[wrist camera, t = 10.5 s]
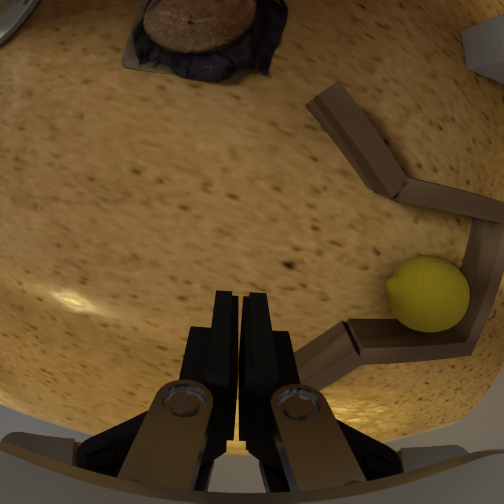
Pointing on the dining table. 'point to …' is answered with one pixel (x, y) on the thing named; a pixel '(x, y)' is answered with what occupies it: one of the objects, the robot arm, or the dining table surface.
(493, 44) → the grey block
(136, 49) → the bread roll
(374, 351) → the corral
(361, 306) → the dining table surface
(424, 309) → the lemon
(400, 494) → the robot arm
